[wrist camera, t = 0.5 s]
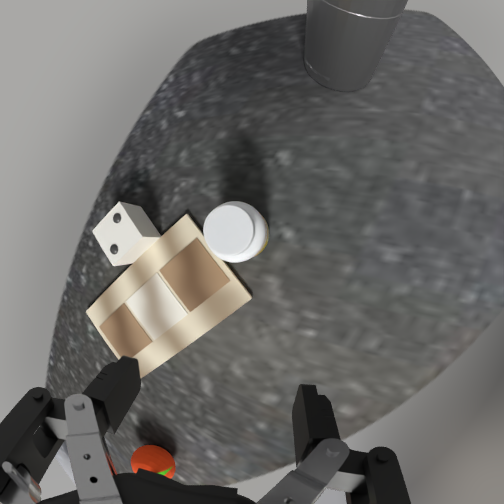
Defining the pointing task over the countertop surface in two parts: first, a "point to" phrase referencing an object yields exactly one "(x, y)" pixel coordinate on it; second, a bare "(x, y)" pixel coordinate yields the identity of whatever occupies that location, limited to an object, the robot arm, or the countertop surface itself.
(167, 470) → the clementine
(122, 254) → the die
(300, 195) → the countertop surface
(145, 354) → the board
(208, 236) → the supplement bottle
